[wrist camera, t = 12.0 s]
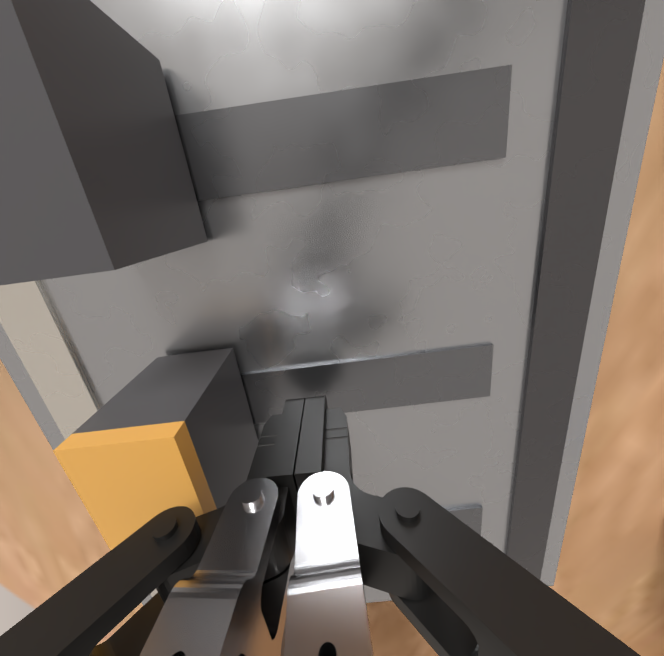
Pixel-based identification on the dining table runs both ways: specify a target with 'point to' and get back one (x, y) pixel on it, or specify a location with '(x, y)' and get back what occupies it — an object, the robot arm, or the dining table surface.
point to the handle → (85, 147)
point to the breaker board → (383, 237)
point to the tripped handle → (163, 443)
